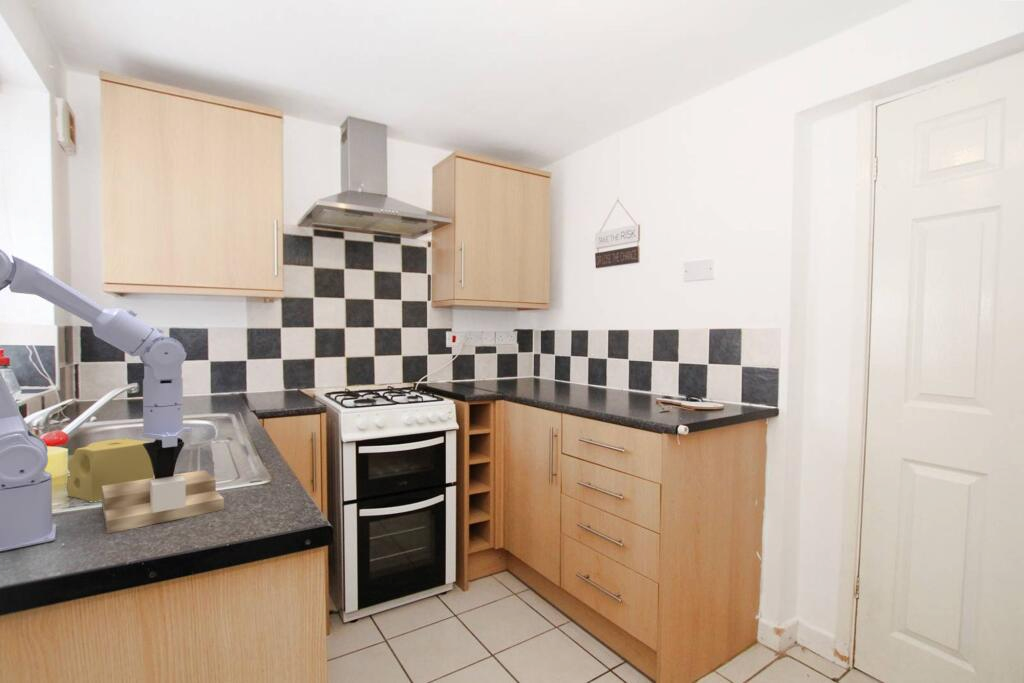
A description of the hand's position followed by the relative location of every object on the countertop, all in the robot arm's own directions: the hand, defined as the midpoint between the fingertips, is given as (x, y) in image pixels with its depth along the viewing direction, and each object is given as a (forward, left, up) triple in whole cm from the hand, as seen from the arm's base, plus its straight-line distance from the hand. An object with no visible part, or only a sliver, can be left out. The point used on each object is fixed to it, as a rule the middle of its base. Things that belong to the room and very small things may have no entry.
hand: (163, 482), depth 87 cm
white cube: (0, -2, -1) cm, 2 cm away
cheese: (-6, +22, -6) cm, 23 cm away
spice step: (0, +3, -5) cm, 6 cm away
